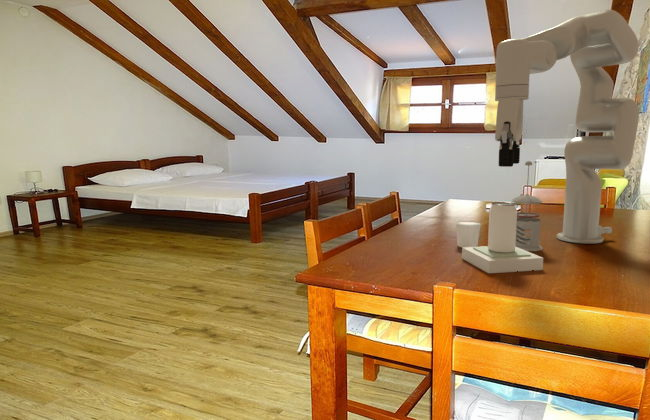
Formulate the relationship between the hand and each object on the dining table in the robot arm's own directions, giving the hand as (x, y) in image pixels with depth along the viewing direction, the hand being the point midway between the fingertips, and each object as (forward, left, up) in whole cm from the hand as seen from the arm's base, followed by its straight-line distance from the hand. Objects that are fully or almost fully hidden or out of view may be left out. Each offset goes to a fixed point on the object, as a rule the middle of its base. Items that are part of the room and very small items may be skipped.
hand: (509, 164), depth 112 cm
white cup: (+1, -19, -25) cm, 32 cm away
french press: (-14, -15, -25) cm, 33 cm away
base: (+2, +1, -25) cm, 25 cm away
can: (+1, +1, -22) cm, 22 cm away
